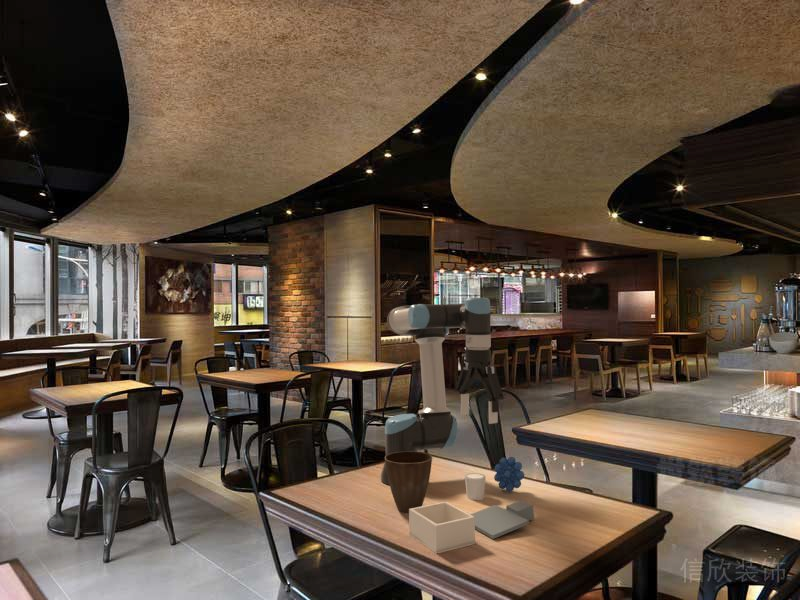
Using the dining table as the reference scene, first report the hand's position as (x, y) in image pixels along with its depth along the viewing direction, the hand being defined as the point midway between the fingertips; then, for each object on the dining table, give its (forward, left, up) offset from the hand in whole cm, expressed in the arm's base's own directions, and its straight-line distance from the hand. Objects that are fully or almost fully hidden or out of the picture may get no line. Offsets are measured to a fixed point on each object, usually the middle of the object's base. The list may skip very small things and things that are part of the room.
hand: (478, 418), depth 166 cm
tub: (+9, -20, -29) cm, 36 cm away
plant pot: (-16, -16, -29) cm, 37 cm away
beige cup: (-14, +8, -29) cm, 33 cm away
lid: (+9, +1, -29) cm, 31 cm away
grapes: (-13, +22, -29) cm, 39 cm away
